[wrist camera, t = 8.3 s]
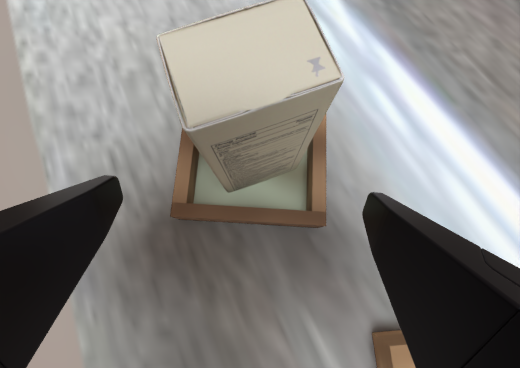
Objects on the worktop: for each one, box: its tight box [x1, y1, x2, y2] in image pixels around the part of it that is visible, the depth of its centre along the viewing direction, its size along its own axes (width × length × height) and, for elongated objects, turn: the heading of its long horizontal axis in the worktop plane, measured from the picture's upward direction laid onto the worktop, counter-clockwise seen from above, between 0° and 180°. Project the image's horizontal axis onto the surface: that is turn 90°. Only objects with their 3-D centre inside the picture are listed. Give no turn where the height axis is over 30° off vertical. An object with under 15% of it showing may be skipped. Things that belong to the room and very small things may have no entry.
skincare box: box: [157, 0, 344, 193], centre depth 15 cm, size 6×4×12 cm
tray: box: [170, 114, 326, 228], centre depth 20 cm, size 11×11×2 cm
